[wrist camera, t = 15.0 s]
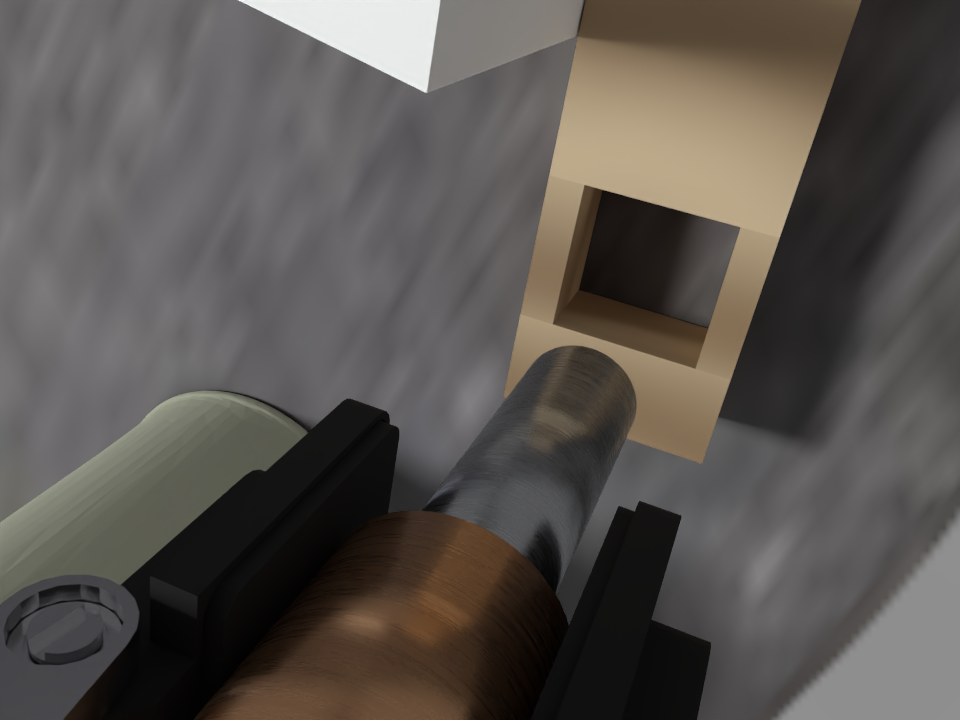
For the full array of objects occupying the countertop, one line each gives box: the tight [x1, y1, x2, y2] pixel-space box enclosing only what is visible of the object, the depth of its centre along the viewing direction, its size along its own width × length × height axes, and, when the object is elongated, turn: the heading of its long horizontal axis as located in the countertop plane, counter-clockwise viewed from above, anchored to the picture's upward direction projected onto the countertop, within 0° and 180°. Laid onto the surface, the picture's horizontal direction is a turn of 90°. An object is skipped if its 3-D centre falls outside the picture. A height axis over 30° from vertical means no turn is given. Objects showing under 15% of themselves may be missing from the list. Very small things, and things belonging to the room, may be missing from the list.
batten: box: [504, 0, 862, 464], centre depth 20 cm, size 14×5×2 cm, turn 170°
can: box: [0, 390, 308, 604], centre depth 26 cm, size 9×9×12 cm
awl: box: [194, 345, 637, 720], centre depth 11 cm, size 3×3×10 cm
